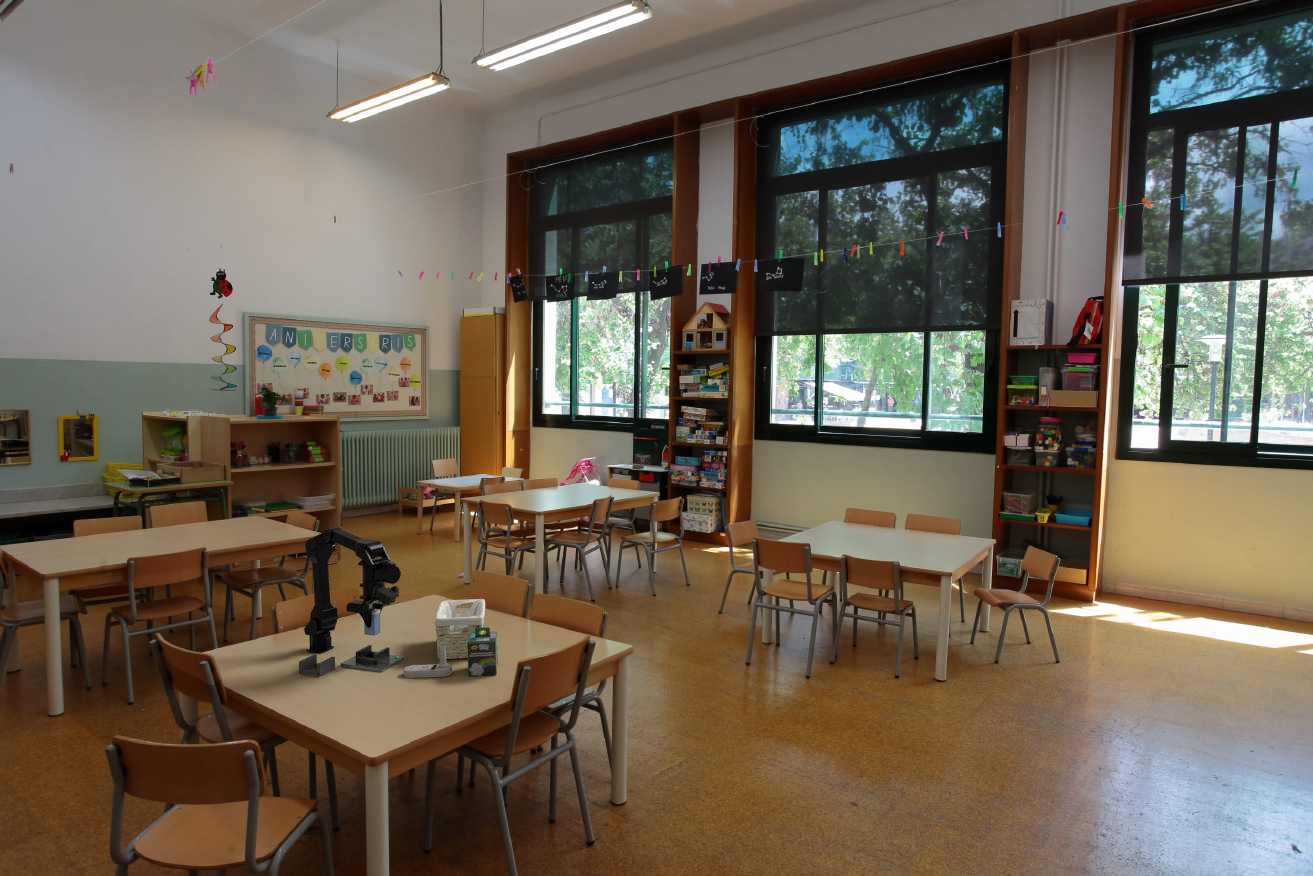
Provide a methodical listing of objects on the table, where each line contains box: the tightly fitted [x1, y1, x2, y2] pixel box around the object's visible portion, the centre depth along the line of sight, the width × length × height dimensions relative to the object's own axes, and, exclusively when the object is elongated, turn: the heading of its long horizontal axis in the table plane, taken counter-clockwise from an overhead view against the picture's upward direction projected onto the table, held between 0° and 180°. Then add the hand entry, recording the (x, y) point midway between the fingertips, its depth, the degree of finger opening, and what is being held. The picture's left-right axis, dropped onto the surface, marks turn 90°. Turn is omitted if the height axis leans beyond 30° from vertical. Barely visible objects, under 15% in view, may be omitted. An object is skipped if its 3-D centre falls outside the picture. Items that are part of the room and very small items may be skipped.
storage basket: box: [434, 598, 486, 660], centre depth 271 cm, size 24×16×15 cm
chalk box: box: [467, 626, 499, 677], centre depth 250 cm, size 9×9×15 cm
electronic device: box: [403, 644, 453, 679], centre depth 247 cm, size 5×10×15 cm
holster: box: [298, 653, 336, 678], centre depth 248 cm, size 8×7×4 cm
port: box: [339, 644, 405, 673], centre depth 256 cm, size 16×12×4 cm
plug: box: [363, 609, 381, 637], centre depth 256 cm, size 4×3×8 cm
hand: (372, 626), depth 256 cm, fingers closed on plug, 3 cm apart
